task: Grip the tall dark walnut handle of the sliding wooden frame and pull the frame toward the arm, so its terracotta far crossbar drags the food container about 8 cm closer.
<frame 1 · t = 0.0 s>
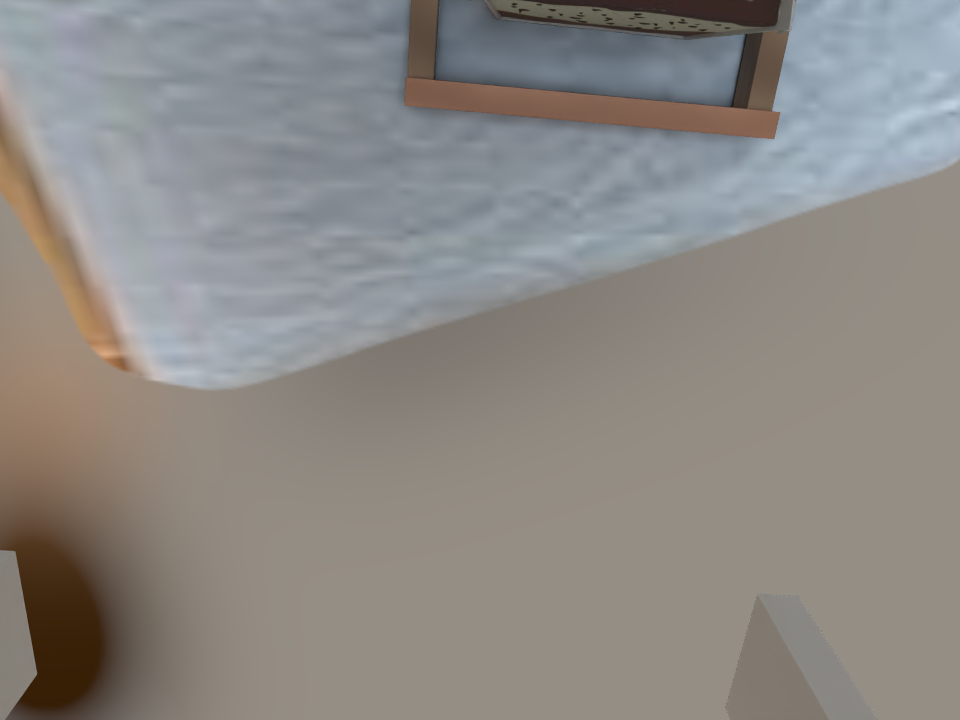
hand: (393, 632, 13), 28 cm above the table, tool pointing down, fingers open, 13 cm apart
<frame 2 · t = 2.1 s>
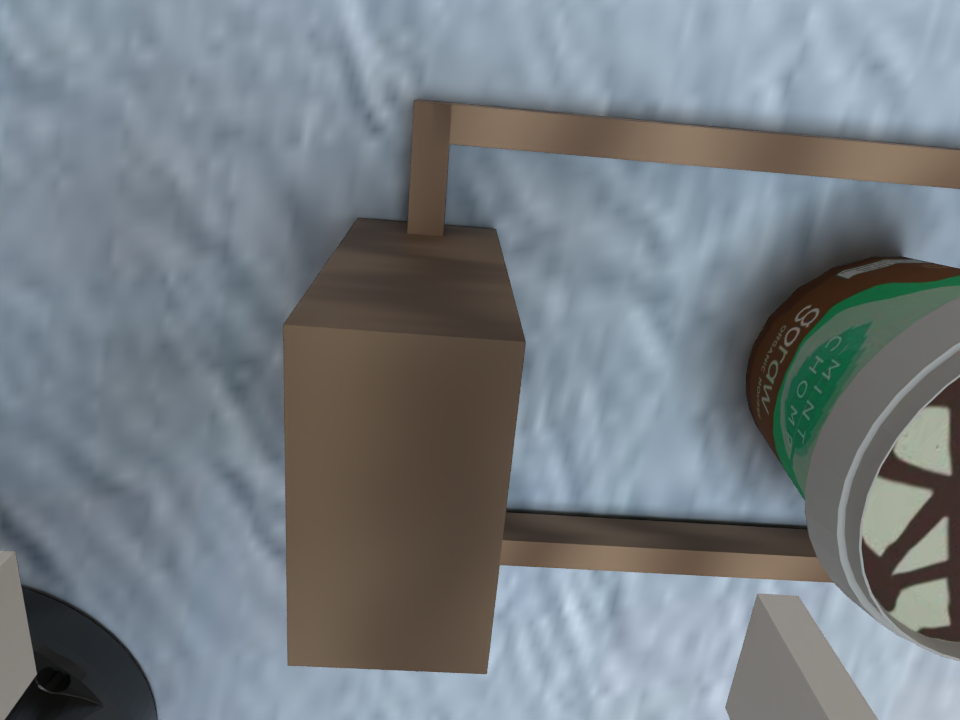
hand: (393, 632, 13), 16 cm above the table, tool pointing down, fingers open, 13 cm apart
walnut sled: (724, 427, 23), point 6 cm above the table, slide at 0.0 cm
food container: (792, 362, 29), resting in walnut sled
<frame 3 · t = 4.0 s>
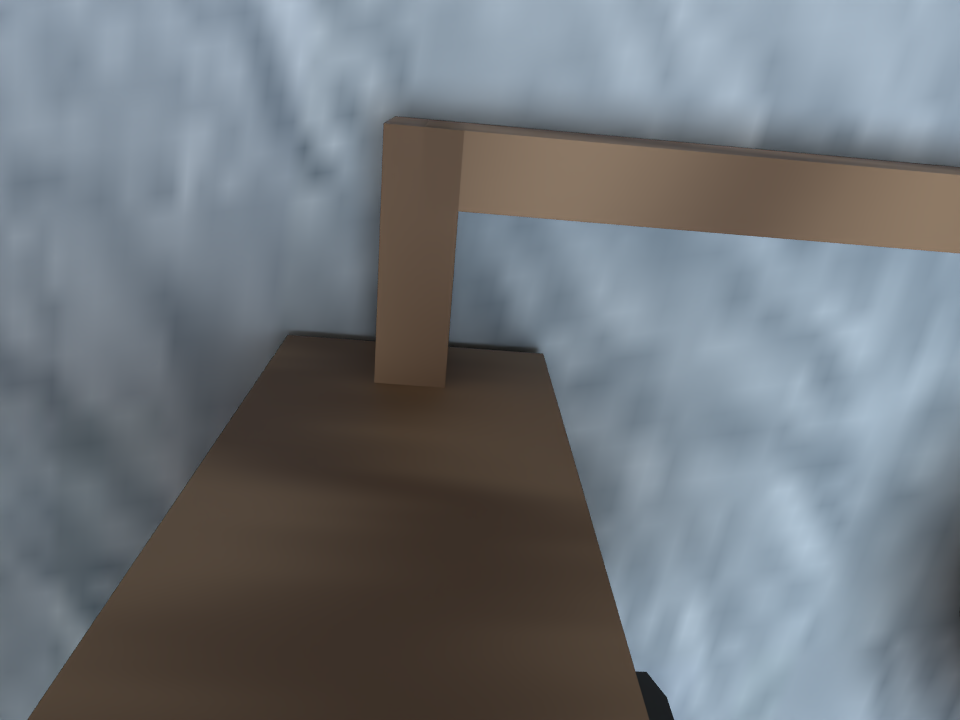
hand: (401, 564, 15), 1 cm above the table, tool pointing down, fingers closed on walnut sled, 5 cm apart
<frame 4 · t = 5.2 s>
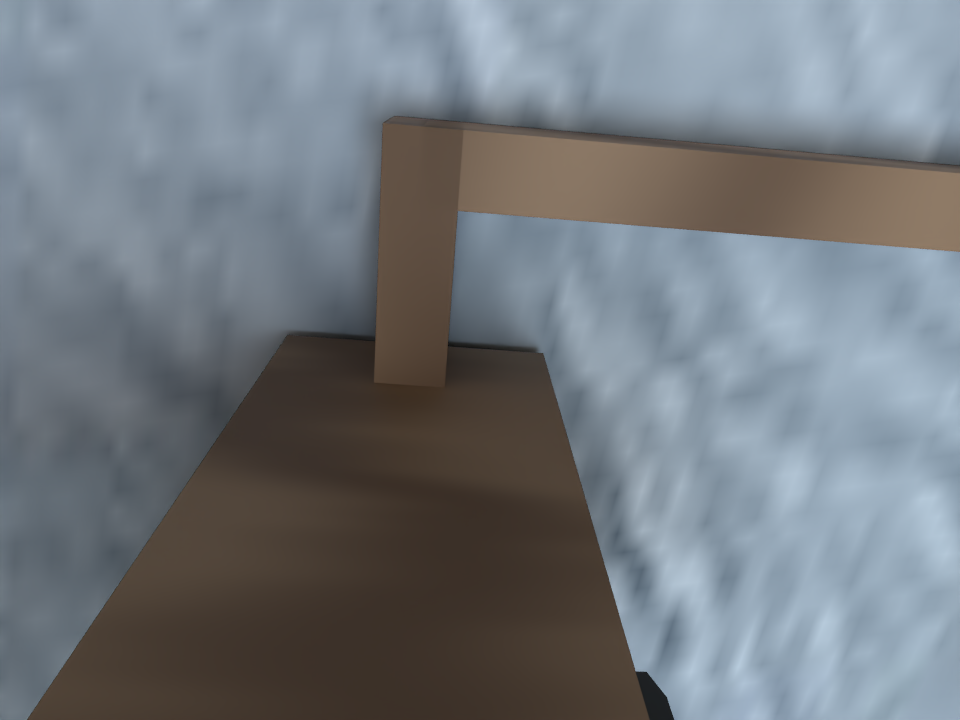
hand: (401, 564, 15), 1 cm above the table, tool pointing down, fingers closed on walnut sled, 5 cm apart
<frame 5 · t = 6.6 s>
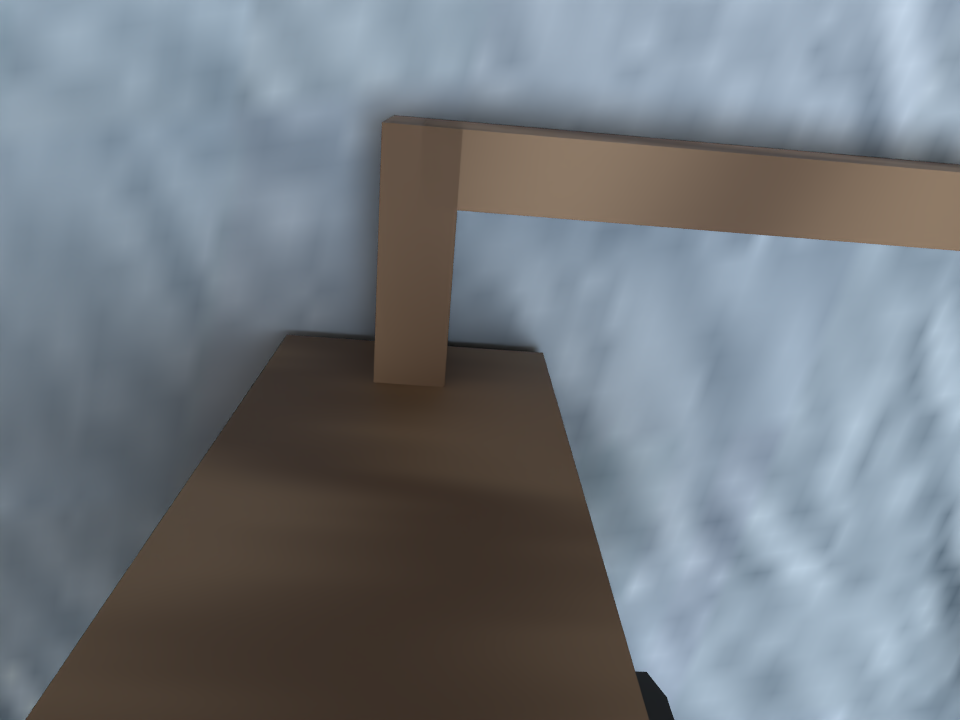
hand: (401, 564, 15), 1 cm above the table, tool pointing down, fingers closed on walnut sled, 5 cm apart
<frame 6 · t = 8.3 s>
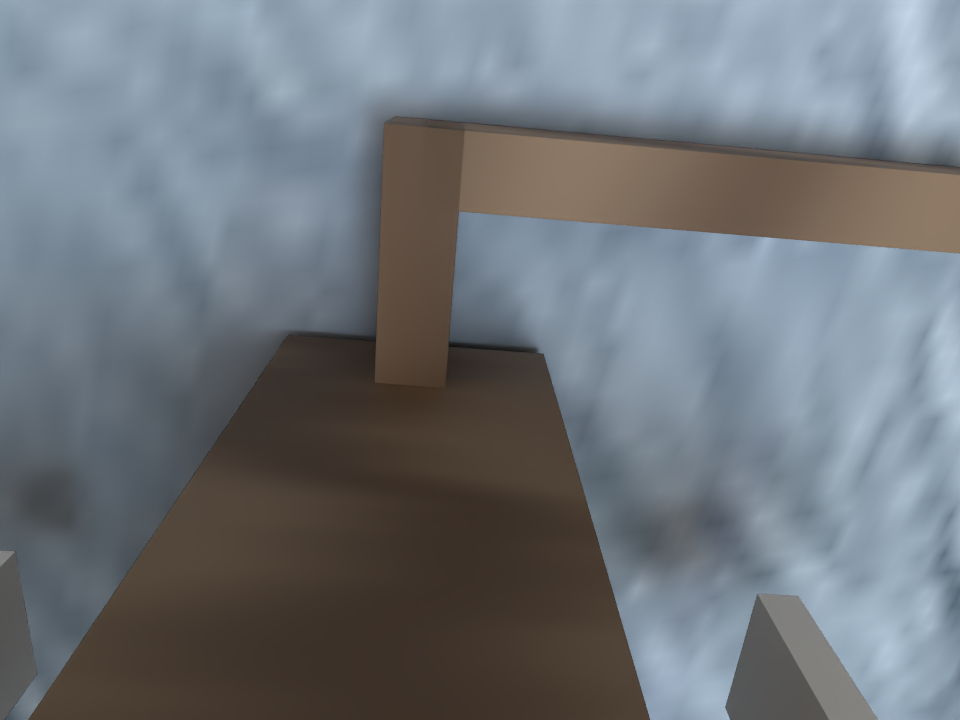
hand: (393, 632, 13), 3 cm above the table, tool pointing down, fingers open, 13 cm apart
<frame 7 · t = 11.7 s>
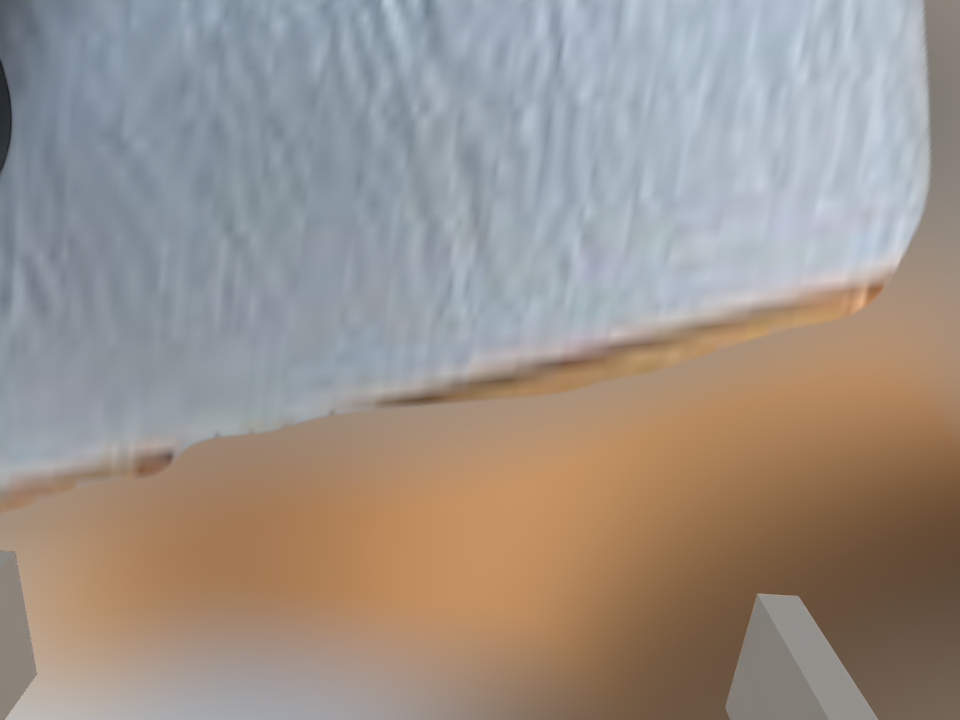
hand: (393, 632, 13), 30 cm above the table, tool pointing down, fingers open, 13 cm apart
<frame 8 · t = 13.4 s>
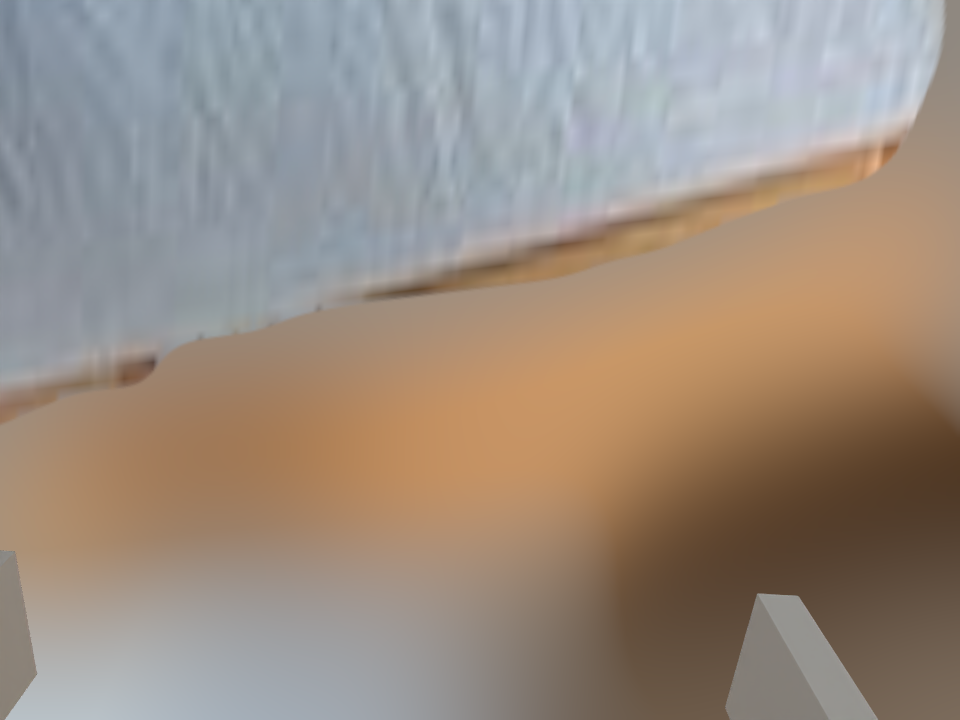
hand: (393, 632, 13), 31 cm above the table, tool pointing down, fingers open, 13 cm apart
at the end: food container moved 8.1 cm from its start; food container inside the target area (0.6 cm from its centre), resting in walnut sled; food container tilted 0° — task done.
